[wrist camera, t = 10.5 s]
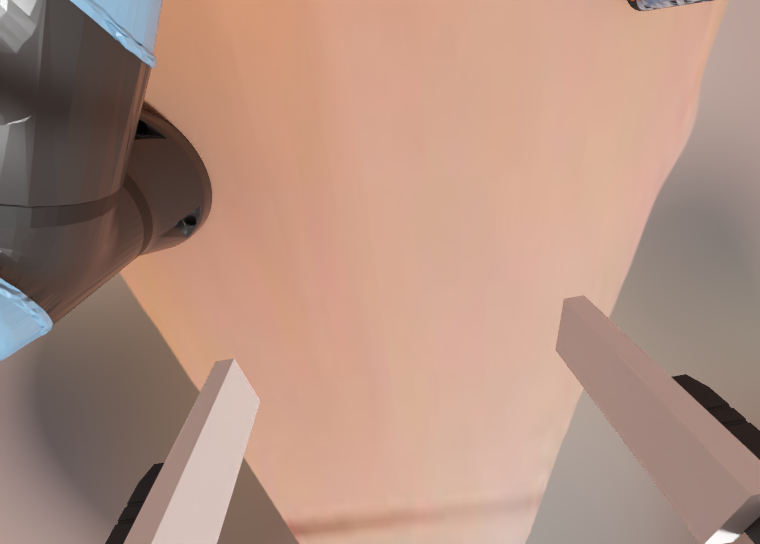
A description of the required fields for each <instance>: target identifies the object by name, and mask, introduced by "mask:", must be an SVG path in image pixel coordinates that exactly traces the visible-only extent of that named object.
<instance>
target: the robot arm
mask: <svg viewBox="0 0 760 544" xmlns="http://www.w3.org/2000/svg"><path fill="white" fill-rule="evenodd" d="M161 7H162V0H0V361H1V360H3V359H5V358H7V357H8V356H10V355H11V354H13V353H14V352H16V351H17V350H19V349H20V348H22V347H23V346H25V345H27V344H28V343H30V342H31V341H33V340H34V339H36V338H38V337H39V336H42V335H44V334H45V333H47V332H48V331H50V330H51V329H52V326H53V325H54V324H55V323H56V322H58V321H59V320H60V319H61V318H62V317H64V316H65V315H66V314H67V313H69V312H70V311H71V310H72V309H74V308H75V307H76V306H77V305H78V304H80V303H81V302H82V301H83V300H85V299H86V298H87V297H88V296H90V295H91V294H92V293H93V292H95V291H96V290H97V289H98V288H100V287H101V286H102V285H103V284H104V283H106V282H107V281H108V280H109V279H111V278H112V277H113V276H114V275H115V274H117V273H118V272H119V271H121V270H122V269H123V268H124V267H125V266H127V265H128V264H129V263H130V262H132V261H133V260H134V259H135V258H137V257H138V256H140V255H144V254H148V253H152V252H156V251H160V250H164V249H168V248H171V247H174V246H176V245H179V244H180V243H182V242H184V241H186V240H187V239H188V238H190V237H191V236H192V235H193V234H194V233H195V232H196V231H197V230H199V229H200V228H201V226H202V225H203V224H204V222H205V221H206V219H207V217H208V215H209V212H210V209H211V203H212V190H211V183H210V179H209V176H208V173H207V170H206V168H205V166H204V164H203V162H202V160H201V158H200V157H199V155H198V153H197V152H196V150H195V149H194V148H193V146H192V145H191V144H190V143H189V142H188V140H187V139H186V138H185V137H184V136H183V135H182V134H181V133H180V132H179V131H178V130H177V129H175V128H174V127H173V126H172V125H170V124H169V123H168V122H166V121H165V120H163V119H162V118H160V117H159V116H157V115H155V114H154V113H152V112H150V111H148V110H146V109H143V108H142V105H143V101H144V97H145V93H146V88H147V84H148V80H149V76H150V72H151V68H155V67H156V58H155V56H154V54H153V53H154V47H155V41H156V36H157V30H158V24H159V18H160V12H161ZM556 351H557V352H558V354H559V355H560V356H561V358H562V359H563V360H564V362H565V363H566V364H567V366H568V367H569V369H570V370H571V371H572V373H573V374H574V375H575V377H576V378H577V379H578V381H579V382H580V383H581V385H582V386H583V387H584V389H585V390H586V391H587V393H588V394H589V395H590V397H591V398H592V399H593V401H594V402H595V403H596V405H597V406H598V408H599V409H600V410H601V411H602V413H603V414H604V416H605V417H606V418H607V420H608V421H609V422H610V423H611V425H612V426H613V428H614V429H615V430H616V432H617V433H618V434H619V436H620V437H621V438H622V440H623V441H624V442H625V444H626V445H627V446H628V448H629V449H630V451H631V452H632V453H633V455H634V456H635V457H636V458H637V460H638V461H639V463H640V464H641V465H642V467H643V468H644V469H645V471H646V472H647V473H648V475H649V476H650V477H651V479H652V480H653V481H654V483H655V484H656V486H657V487H658V488H659V490H660V491H661V492H662V494H663V495H664V496H665V498H666V499H667V500H668V502H669V503H670V504H671V506H672V507H673V508H674V510H675V511H676V512H677V514H678V515H679V516H680V518H681V519H682V520H683V522H684V523H685V524H686V526H687V527H688V529H689V530H690V531H691V533H692V534H693V535H694V537H695V538H696V539H697V541H698V542H699V543H700V544H723V543H729V542H734V541H735V540H736V539H737V538H739V536H741V535H742V534H743V533H744V532H745V533H746V534H747V535H748V536H749V538H750V539H751V540H752V541H753V542H754V543H755V544H760V431H759V430H758V429H757V428H756V427H755V426H753V425H752V424H751V423H748V422H747V421H746V419H745V418H744V417H743V416H742V415H741V414H740V413H738V412H737V411H736V410H735V409H734V408H731V407H730V406H729V404H728V403H727V402H725V400H723V399H722V398H721V397H720V396H719V395H718V394H716V393H715V392H714V391H713V390H712V389H710V388H709V387H708V386H706V385H704V384H702V383H700V382H699V381H697V380H695V379H693V378H691V377H690V376H688V375H686V374H685V375H680V376H674V377H671V376H669V375H668V374H667V373H666V372H665V371H664V370H663V369H662V368H661V367H660V366H659V365H658V364H657V363H656V362H655V361H654V360H652V359H651V358H650V357H649V356H648V355H647V354H646V353H645V352H644V351H643V350H642V349H641V348H639V347H638V346H637V345H636V344H635V343H634V342H633V341H632V340H631V339H630V338H629V337H628V336H627V335H626V334H625V333H623V331H621V330H620V329H619V328H618V327H617V326H616V325H615V324H614V323H613V322H612V321H611V320H610V319H609V318H608V317H607V316H605V315H604V314H603V313H602V312H601V311H600V310H599V309H598V308H597V307H596V306H595V305H594V304H593V303H592V302H590V301H589V300H588V299H587V298H586V297H585V296H578V297H573V298H567V299H564V302H563V308H562V314H561V320H560V326H559V332H558V338H557V344H556ZM259 404H260V400H259V398H258V397H257V395H256V393H255V392H254V390H253V388H252V387H251V385H250V384H249V382H248V380H247V379H246V377H245V375H244V374H243V372H242V371H241V369H240V367H239V366H238V364H237V362H236V361H235V359H229V360H223V361H218V362H215V364H214V366H213V368H212V370H211V372H210V374H209V376H208V378H207V380H206V382H205V384H204V386H203V388H202V390H201V392H200V394H199V396H198V398H197V400H196V402H195V404H194V406H193V408H192V410H191V412H190V414H189V416H188V418H187V420H186V421H185V423H184V426H183V427H182V429H181V431H180V433H179V435H178V437H177V439H176V441H175V443H174V445H173V447H172V449H171V451H170V453H169V455H168V457H167V459H166V461H165V463H159V464H154V465H153V466H152V468H151V469H150V470H149V471H148V472H147V474H146V475H145V476H144V477H143V478H142V480H141V481H140V482H139V483H138V485H137V487H136V488H135V490H134V492H133V494H132V496H131V498H130V500H129V501H128V503H127V504H128V506H127V507H126V508H125V509H124V511H123V512H122V514H121V516H120V518H119V520H118V524H117V525H115V527H114V529H113V530H112V532H111V534H110V536H109V538H108V540H107V541H106V543H105V544H217V541H218V538H219V535H220V531H221V528H222V525H223V522H224V518H225V515H226V511H227V508H228V505H229V502H230V498H231V495H232V492H233V489H234V486H235V482H236V479H237V475H238V472H239V469H240V466H241V463H242V459H243V456H244V453H245V450H246V446H247V443H248V440H249V436H250V433H251V430H252V427H253V423H254V420H255V417H256V413H257V410H258V407H259Z"/></svg>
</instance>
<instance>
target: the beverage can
mask: <svg viewBox="0 0 760 544" xmlns="http://www.w3.org/2000/svg"><path fill="white" fill-rule="evenodd" d="M627 1H628V3H629V4H630V6H631V7H632V8H634V9H635V10H638V11H649V10H655V9H661V8H668V7H674V6H680V5H687V4H693V3H699V2H706V1H712V0H627Z"/></svg>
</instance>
